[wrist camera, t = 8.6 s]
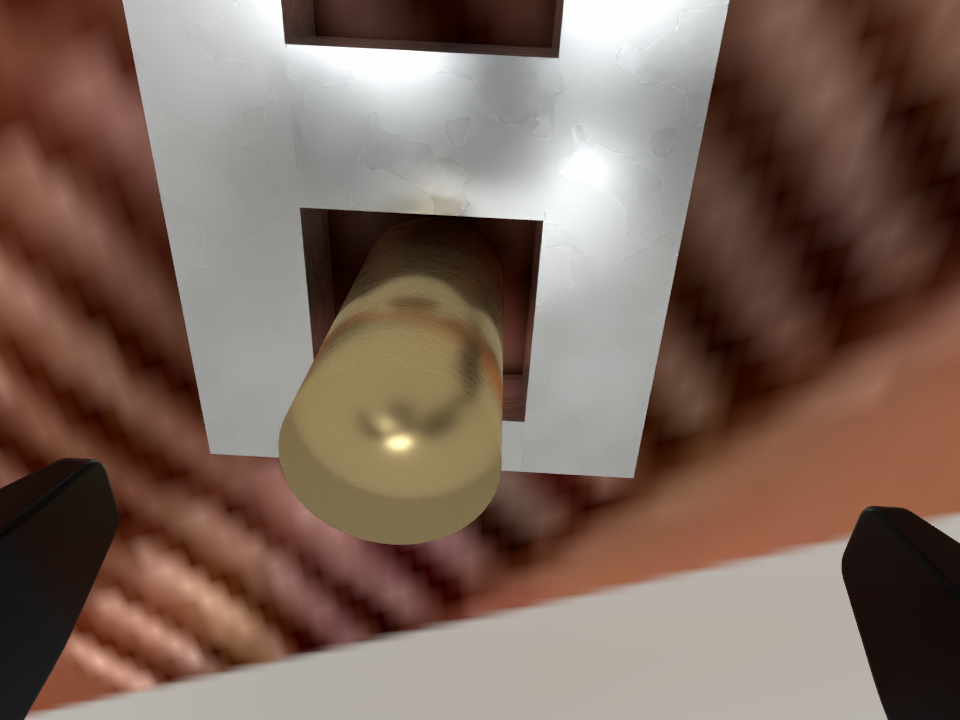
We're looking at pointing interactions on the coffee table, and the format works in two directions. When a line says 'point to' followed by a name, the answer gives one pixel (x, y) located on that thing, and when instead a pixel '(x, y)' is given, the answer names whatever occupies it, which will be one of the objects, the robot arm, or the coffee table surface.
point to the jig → (428, 194)
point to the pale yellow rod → (405, 392)
